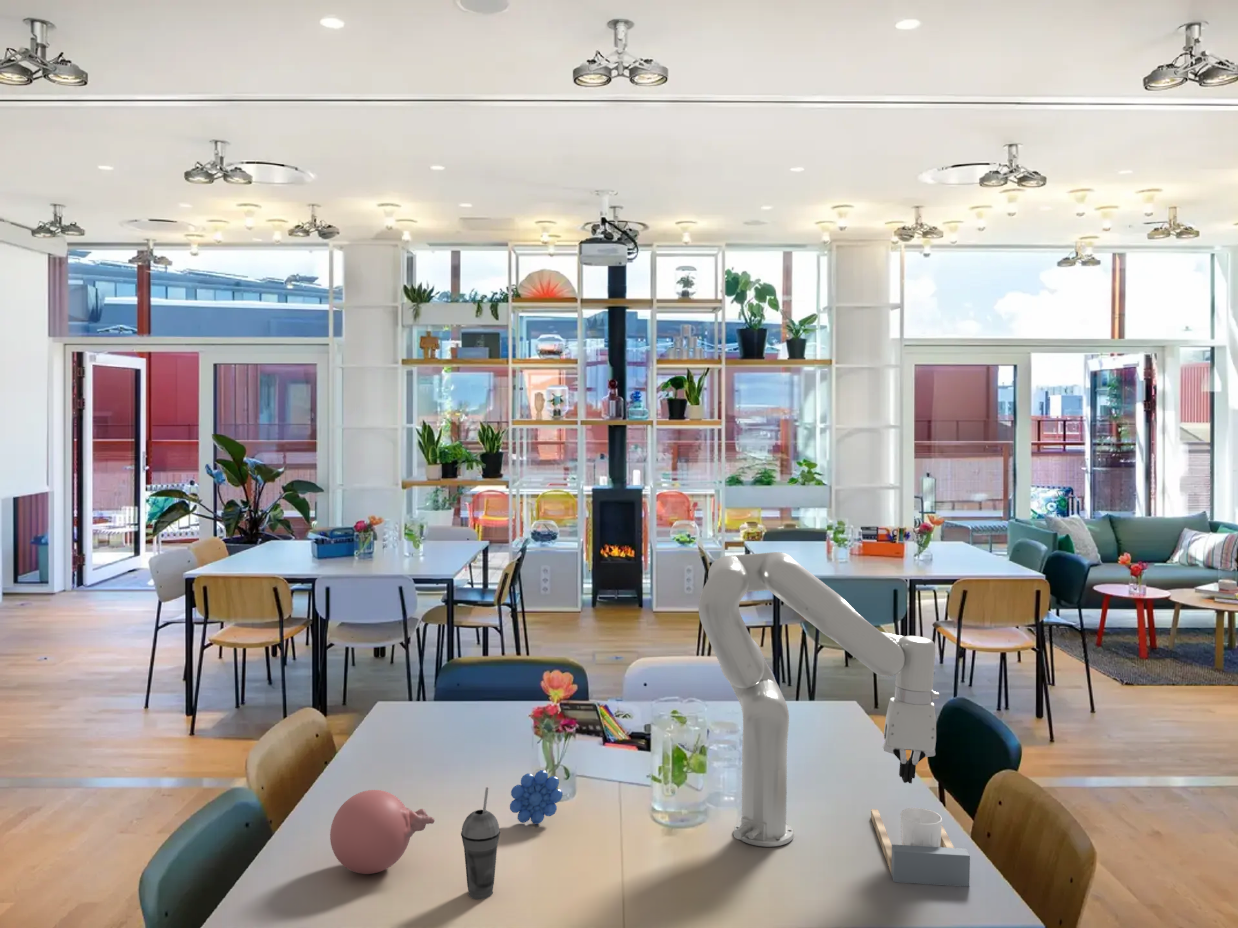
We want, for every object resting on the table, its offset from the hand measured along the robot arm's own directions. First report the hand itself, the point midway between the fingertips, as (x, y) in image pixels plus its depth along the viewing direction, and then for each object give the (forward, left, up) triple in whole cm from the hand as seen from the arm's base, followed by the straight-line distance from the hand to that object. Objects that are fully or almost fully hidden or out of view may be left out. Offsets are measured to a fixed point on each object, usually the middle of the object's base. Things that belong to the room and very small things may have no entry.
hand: (906, 780), depth 198 cm
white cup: (-10, -7, -13) cm, 17 cm away
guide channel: (-3, -3, -13) cm, 13 cm away
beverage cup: (-72, +55, -13) cm, 91 cm away
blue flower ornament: (-42, +68, -13) cm, 81 cm away
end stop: (-15, -10, -13) cm, 22 cm away
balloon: (-77, +77, -13) cm, 109 cm away
